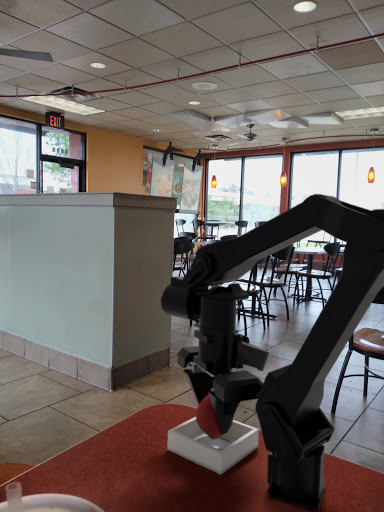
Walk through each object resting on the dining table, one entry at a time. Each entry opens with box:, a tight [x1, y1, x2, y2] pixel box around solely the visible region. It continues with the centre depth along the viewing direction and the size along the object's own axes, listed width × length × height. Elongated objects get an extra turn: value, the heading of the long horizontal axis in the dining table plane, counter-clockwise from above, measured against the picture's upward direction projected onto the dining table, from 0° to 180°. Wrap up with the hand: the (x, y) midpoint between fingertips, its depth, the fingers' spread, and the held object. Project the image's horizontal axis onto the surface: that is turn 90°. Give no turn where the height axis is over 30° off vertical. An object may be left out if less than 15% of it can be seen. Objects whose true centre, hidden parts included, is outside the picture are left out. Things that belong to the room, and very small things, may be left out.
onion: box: [195, 388, 234, 440], centre depth 66 cm, size 6×6×8 cm
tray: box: [166, 416, 259, 476], centre depth 66 cm, size 10×10×3 cm
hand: (214, 424), depth 66 cm, fingers open, 6 cm apart
